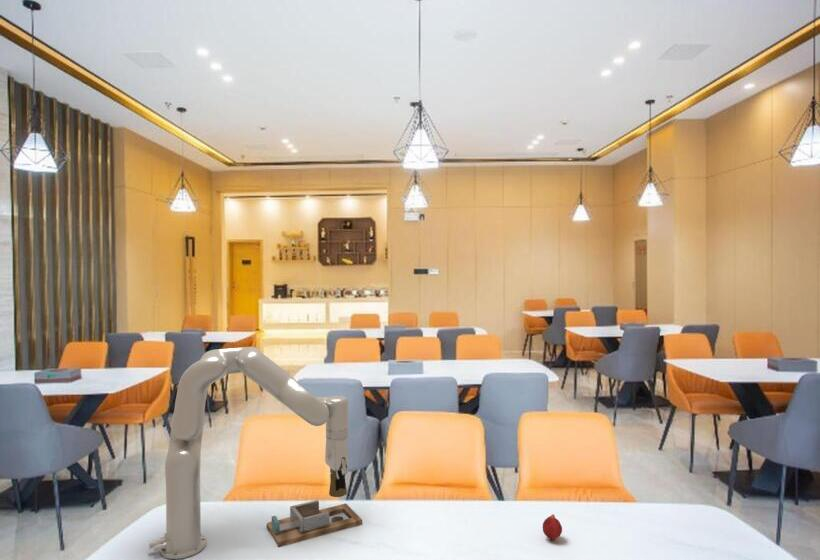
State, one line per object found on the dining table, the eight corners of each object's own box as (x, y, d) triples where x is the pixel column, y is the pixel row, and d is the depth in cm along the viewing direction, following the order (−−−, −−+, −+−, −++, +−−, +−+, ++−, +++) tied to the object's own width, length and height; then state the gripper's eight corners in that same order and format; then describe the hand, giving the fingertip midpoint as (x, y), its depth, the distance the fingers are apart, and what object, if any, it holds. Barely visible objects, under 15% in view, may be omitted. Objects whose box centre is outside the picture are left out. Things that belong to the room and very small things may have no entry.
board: (278, 547, 154) (278, 542, 154) (266, 527, 166) (266, 522, 166) (362, 524, 168) (362, 519, 168) (345, 507, 180) (345, 503, 180)
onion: (548, 546, 154) (548, 520, 154) (539, 536, 160) (539, 511, 160) (565, 543, 156) (565, 517, 156) (555, 534, 161) (555, 509, 161)
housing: (278, 538, 155) (278, 525, 155) (269, 523, 165) (269, 511, 165) (329, 525, 164) (329, 512, 164) (317, 511, 173) (317, 499, 173)
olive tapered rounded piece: (348, 489, 174) (348, 457, 173) (344, 497, 168) (344, 464, 167) (331, 489, 174) (331, 457, 174) (326, 496, 168) (326, 463, 168)
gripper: (318, 428, 176) (318, 481, 176) (336, 442, 161) (336, 499, 162) (338, 425, 180) (338, 476, 180) (357, 438, 165) (358, 494, 165)
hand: (337, 486), depth 171 cm, fingers closed on olive tapered rounded piece, 3 cm apart
